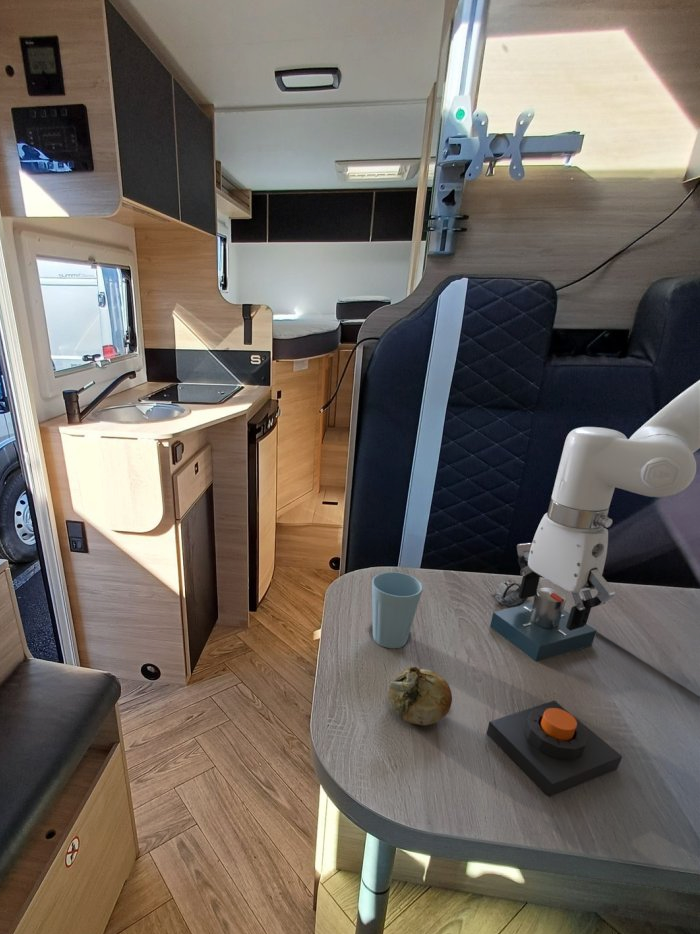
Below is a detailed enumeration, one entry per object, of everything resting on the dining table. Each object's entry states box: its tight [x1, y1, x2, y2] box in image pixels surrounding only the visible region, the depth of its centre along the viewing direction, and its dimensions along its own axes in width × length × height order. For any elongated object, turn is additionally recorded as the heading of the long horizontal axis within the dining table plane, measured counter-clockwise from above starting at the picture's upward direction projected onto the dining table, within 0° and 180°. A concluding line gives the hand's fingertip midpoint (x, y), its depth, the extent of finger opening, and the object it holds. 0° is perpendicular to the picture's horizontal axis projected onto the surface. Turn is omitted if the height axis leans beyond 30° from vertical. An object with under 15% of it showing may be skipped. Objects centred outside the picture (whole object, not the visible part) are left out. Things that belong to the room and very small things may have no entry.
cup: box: [371, 571, 424, 649], centre depth 83 cm, size 8×8×10 cm
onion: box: [388, 665, 453, 726], centre depth 68 cm, size 8×8×8 cm
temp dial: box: [529, 587, 568, 628], centre depth 84 cm, size 4×4×5 cm
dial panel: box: [489, 602, 598, 662], centre depth 85 cm, size 12×10×3 cm
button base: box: [486, 700, 623, 798], centre depth 63 cm, size 11×10×4 cm
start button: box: [541, 708, 577, 741], centre depth 62 cm, size 4×4×2 cm
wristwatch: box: [495, 578, 528, 607], centre depth 95 cm, size 3×5×5 cm
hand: (549, 611), depth 84 cm, fingers open, 9 cm apart
